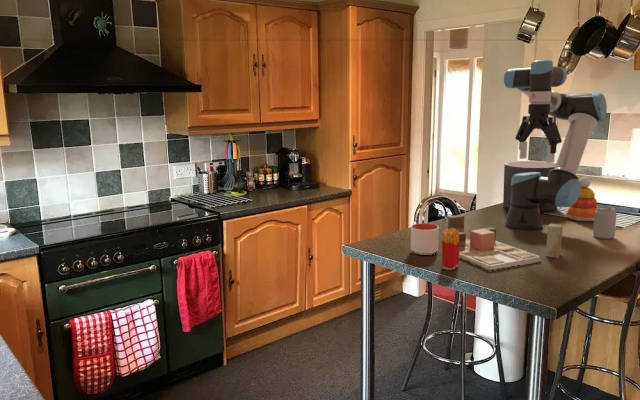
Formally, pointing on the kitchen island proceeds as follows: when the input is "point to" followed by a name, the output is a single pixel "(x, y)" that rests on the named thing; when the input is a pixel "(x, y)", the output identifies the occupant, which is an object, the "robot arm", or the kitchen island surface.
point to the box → (554, 240)
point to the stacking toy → (583, 203)
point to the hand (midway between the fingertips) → (536, 160)
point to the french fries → (450, 248)
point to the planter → (525, 167)
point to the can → (604, 223)
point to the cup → (424, 238)
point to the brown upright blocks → (458, 224)
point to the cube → (482, 239)
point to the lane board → (503, 258)
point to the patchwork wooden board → (497, 245)
